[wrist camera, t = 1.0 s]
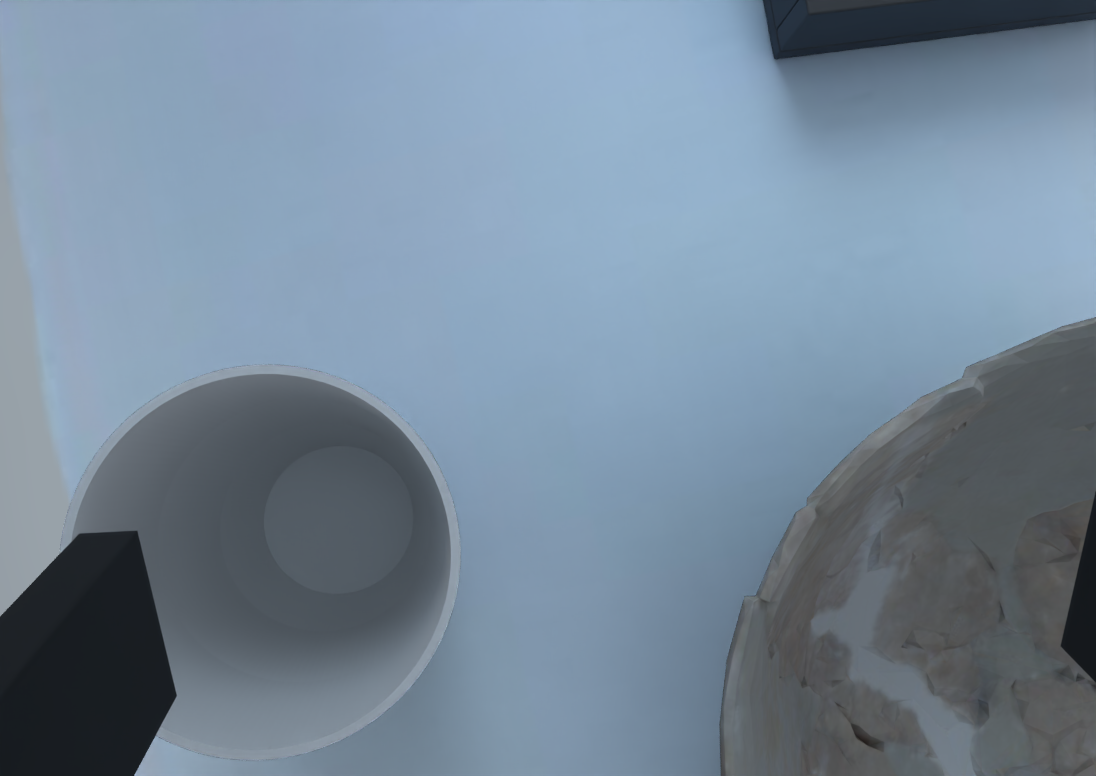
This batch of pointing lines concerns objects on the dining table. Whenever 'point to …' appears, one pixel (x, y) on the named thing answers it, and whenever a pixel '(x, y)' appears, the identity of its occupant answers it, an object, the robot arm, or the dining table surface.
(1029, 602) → the ceramic bowl
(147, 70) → the dining table surface
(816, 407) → the dining table surface
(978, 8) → the shallow square tray
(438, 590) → the cup
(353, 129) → the dining table surface
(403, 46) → the dining table surface
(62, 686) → the robot arm
